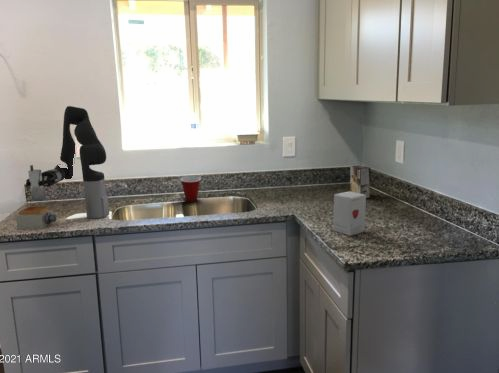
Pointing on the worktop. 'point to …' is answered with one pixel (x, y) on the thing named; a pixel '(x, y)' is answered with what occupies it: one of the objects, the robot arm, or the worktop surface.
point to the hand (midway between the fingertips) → (33, 184)
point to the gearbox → (35, 217)
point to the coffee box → (360, 180)
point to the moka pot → (36, 184)
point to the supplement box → (349, 213)
